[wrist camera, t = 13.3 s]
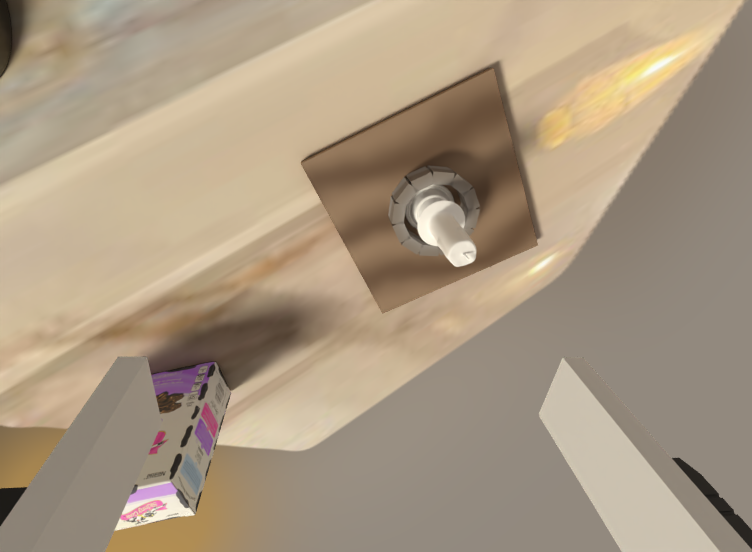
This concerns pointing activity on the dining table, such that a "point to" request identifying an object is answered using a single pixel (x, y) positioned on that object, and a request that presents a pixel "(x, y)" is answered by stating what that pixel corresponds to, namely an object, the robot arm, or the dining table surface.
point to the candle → (441, 223)
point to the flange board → (417, 171)
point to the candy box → (179, 445)
